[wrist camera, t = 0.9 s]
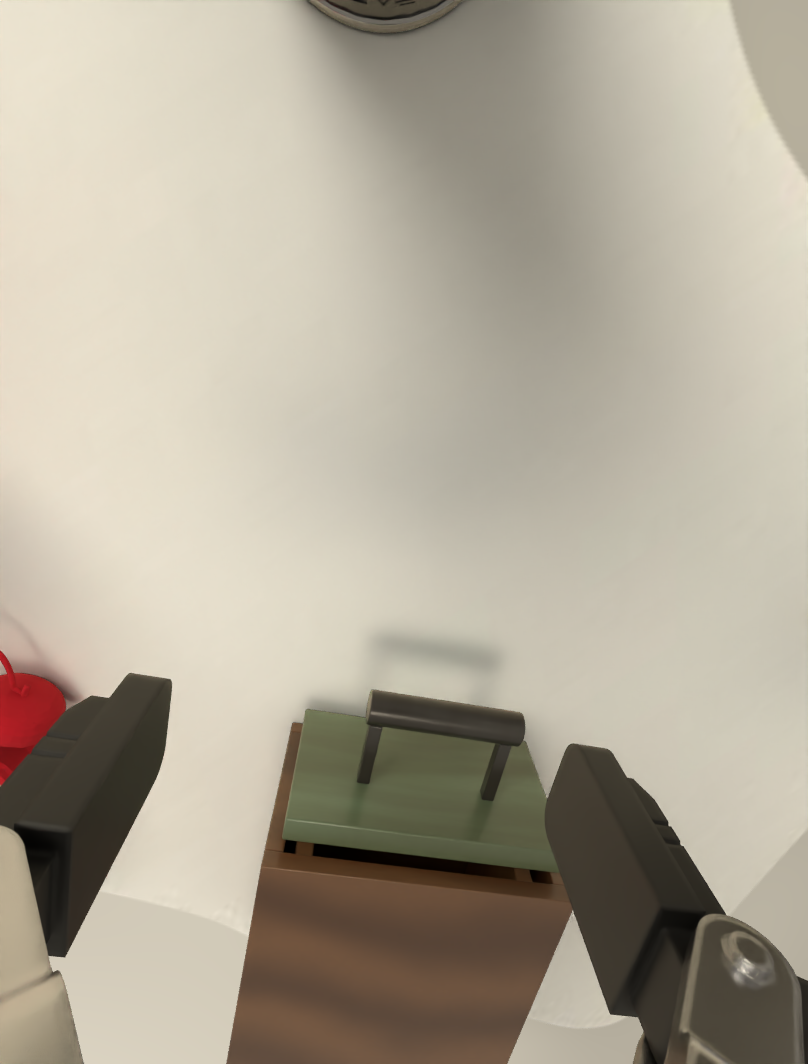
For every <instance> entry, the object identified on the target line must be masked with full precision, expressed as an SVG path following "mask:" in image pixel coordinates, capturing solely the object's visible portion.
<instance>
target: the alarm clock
mask: <svg viewBox="0 0 808 1064" xmlns="http://www.w3.org/2000/svg"><path fill="white" fill-rule="evenodd" d="M0 661H1V662H2V664H3V665H4V667H5V669H6V672H7V674H5V675H0V786H1V785H2V784H3V783H4V781H5V780H6V779H7V778H8V777H9V776H10V775H11V773H12V772H13V771H14V770H15V769H16V768H17V766H18V765H19V764H20V763H21V762H22V761H23V759H24V758H25V757H26V756H27V755H28V754H31V752H32V749H33V748H34V747H35V745H36V744H37V743H38V742H39V741H40V740H41V738H42V737H43V736H46V734H47V731H48V730H49V729H50V728H51V727H52V726H53V724H54V723H55V722H56V721H57V720H58V719H59V717H60V716H61V715H62V714H63V713H64V712H65V710H66V702H65V699H64V696H63V693H62V692H61V691H60V690H59V689H58V688H57V687H56V686H55V685H54V684H52V683H51V682H49V681H47V680H45V679H43V678H41V677H38V676H35V675H30V674H24V673H14V672H13V669H12V667H11V665H10V663H9V661H8V659H7V658H6V656H5V655H4V654H3V653H2V652H1V651H0Z"/></svg>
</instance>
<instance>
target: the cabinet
mask: <svg viewBox="0 0 808 1064" xmlns="http://www.w3.org/2000/svg"><path fill="white" fill-rule="evenodd" d="M302 727H303V724H301V723H292V727H291V731H290V736H289V741H288V745H287V750H286V754H285V759H284V764H283V768H282V773H281V777H280V782H279V787H278V791H277V796H276V800H275V805H274V810H273V814H272V819H271V824H270V828H269V833H268V837H267V842H266V847H265V851H264V856H263V860H262V865H261V870H260V876H259V881H258V887H257V893H256V898H255V904H254V910H253V915H252V921H251V927H250V932H249V938H248V944H247V949H246V955H245V961H244V966H243V972H242V978H241V984H240V989H239V995H238V1001H237V1006H236V1012H235V1018H234V1023H233V1029H232V1035H231V1040H230V1046H229V1051H228V1058H227V1063H226V1064H507V1063H508V1061H509V1058H510V1056H511V1053H512V1051H513V1049H514V1046H515V1044H516V1042H517V1039H518V1037H519V1035H520V1032H521V1030H522V1028H523V1025H524V1023H525V1020H526V1018H527V1016H528V1014H529V1011H530V1009H531V1006H532V1004H533V1002H534V999H535V997H536V995H537V992H538V990H539V988H540V985H541V983H542V981H543V978H544V976H545V974H546V971H547V969H548V967H549V964H550V962H551V960H552V957H553V955H554V952H555V950H556V948H557V945H558V943H559V941H560V938H561V936H562V934H563V931H564V929H565V927H566V924H567V922H568V920H569V917H570V915H571V913H572V910H573V908H572V906H571V903H570V900H569V897H568V894H567V891H566V889H565V886H564V883H563V880H562V877H561V875H560V872H559V873H554V872H546V871H538V870H530V869H529V871H530V875H531V878H532V882H527V881H519V880H511V879H502V878H494V877H485V876H477V875H469V874H460V873H452V872H443V871H435V870H426V869H418V868H410V867H401V866H393V865H384V864H376V863H368V862H359V861H351V860H342V859H334V858H326V857H317V856H309V855H300V854H292V853H291V851H292V846H293V841H291V840H283V839H282V833H283V828H284V823H285V817H286V812H287V807H288V801H289V796H290V791H291V785H292V780H293V775H294V769H295V764H296V759H297V754H298V748H299V743H300V738H301V732H302Z"/></svg>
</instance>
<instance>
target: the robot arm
mask: <svg viewBox="0 0 808 1064" xmlns="http://www.w3.org/2000/svg"><path fill="white" fill-rule="evenodd" d="M308 1H309V2H310V3H312V4H313V5H314V6H315V7H317V8H318V9H319V10H321V11H322V12H323V13H325V14H327V15H328V16H330V17H331V18H333V19H335V20H337V21H339V22H341V23H343V24H345V25H348V26H351V27H354V28H357V29H360V30H365V31H369V32H379V33H395V32H402V31H408V30H412V29H415V28H419V27H421V26H424V25H426V24H429V23H431V22H433V21H435V20H436V19H438V18H440V17H442V16H443V15H445V14H446V13H448V12H449V11H451V10H452V9H453V8H454V7H455V6H457V5H458V4H459V3H460V2H461V1H462V0H308ZM171 692H172V682H171V680H170V679H166V678H159V677H153V676H147V675H140V674H134V673H129V674H128V675H127V676H126V677H125V678H124V680H123V681H122V682H121V684H120V685H119V686H118V687H117V689H116V690H115V691H114V693H113V694H112V695H111V697H110V698H104V697H98V696H90V697H88V698H87V699H85V700H83V701H82V702H80V703H78V704H76V705H75V706H73V707H71V708H70V709H68V710H66V711H65V712H64V713H63V714H62V715H61V716H60V717H59V719H58V720H57V721H56V722H55V723H54V724H53V726H52V727H51V728H50V729H49V730H48V731H47V734H46V736H43V737H42V738H41V740H40V741H39V742H38V743H37V744H36V745H35V747H34V748H33V749H32V752H31V754H28V755H27V756H26V757H25V758H24V759H23V761H22V762H21V763H20V764H19V765H18V766H17V768H16V769H15V770H14V771H13V772H12V773H11V775H10V776H9V777H8V778H7V779H6V780H5V781H4V783H3V784H2V785H1V786H0V1064H84V1063H83V1059H82V1054H81V1050H80V1045H79V1041H78V1037H77V1032H76V1028H75V1024H74V1019H73V1015H72V1011H71V1007H70V1002H69V998H68V994H67V990H66V986H65V983H64V980H63V978H62V975H61V973H60V972H59V971H58V970H57V971H55V972H53V971H52V968H51V966H50V961H49V957H48V956H56V957H65V956H66V954H67V952H68V951H69V948H70V947H71V945H72V943H73V941H74V939H75V937H76V935H77V933H78V931H79V929H80V927H81V925H82V923H83V921H84V919H85V917H86V915H87V913H88V911H89V909H90V907H91V905H92V903H93V901H94V900H95V898H96V895H97V894H98V892H99V890H100V888H101V886H102V884H103V882H104V880H105V878H106V876H107V874H108V872H109V870H110V868H111V866H112V864H113V862H114V860H115V858H116V856H117V855H118V853H119V851H120V849H121V847H122V845H123V843H124V841H125V839H126V837H127V835H128V833H129V831H130V829H131V827H132V825H133V823H134V821H135V819H136V817H137V815H138V813H139V811H140V809H141V807H142V806H143V804H144V802H145V800H146V798H147V796H148V794H149V792H150V790H151V788H152V786H153V784H154V782H155V780H156V777H157V775H158V772H159V770H160V767H161V763H162V760H163V756H164V751H165V746H166V737H167V728H168V719H169V710H170V701H171ZM545 830H546V835H547V838H548V841H549V844H550V846H551V849H552V852H553V855H554V858H555V861H556V863H557V866H558V869H559V872H560V875H561V877H562V880H563V883H564V886H565V889H566V891H567V894H568V897H569V900H570V903H571V906H572V908H573V911H574V914H575V917H576V920H577V922H578V925H579V928H580V931H581V934H582V936H583V939H584V942H585V945H586V948H587V951H588V953H589V956H590V959H591V962H592V965H593V967H594V970H595V973H596V976H597V979H598V981H599V984H600V987H601V990H602V993H603V996H604V998H605V1001H606V1004H607V1007H608V1010H609V1012H610V1014H611V1015H622V1016H632V1017H638V1018H639V1020H640V1023H641V1026H642V1028H643V1030H644V1032H643V1034H642V1036H641V1038H640V1040H639V1042H638V1045H637V1048H636V1052H635V1057H634V1061H633V1064H808V981H807V980H804V979H802V978H800V977H798V976H796V974H795V972H794V970H793V969H792V967H791V966H790V964H789V962H788V961H787V960H786V958H785V957H784V956H783V955H782V953H781V952H780V951H779V950H778V949H777V948H776V947H775V946H774V945H773V944H772V943H771V942H770V941H769V940H768V939H767V938H766V937H764V936H763V935H762V934H760V933H759V932H758V931H756V930H755V929H753V928H752V927H751V926H749V925H747V924H746V923H744V922H742V921H740V920H738V919H735V918H733V917H730V916H727V915H726V914H725V912H724V910H723V909H722V907H721V906H720V904H719V902H718V901H717V899H716V898H715V896H714V894H713V893H712V891H711V890H710V888H709V886H708V885H707V883H706V882H705V880H704V878H703V877H702V875H701V874H700V872H699V870H698V869H697V867H696V866H695V864H694V862H693V861H692V859H691V858H690V856H689V854H688V853H687V851H686V849H685V848H684V846H681V845H680V840H679V838H678V837H677V835H676V833H675V832H674V830H673V829H672V827H670V826H668V821H667V819H666V817H665V816H664V814H663V813H662V811H661V809H660V808H659V806H658V805H657V803H656V801H655V800H654V799H653V798H652V797H651V796H650V795H649V794H648V793H647V792H646V791H645V790H644V789H643V788H642V787H641V786H640V785H639V784H638V783H637V782H636V781H635V780H634V779H632V778H627V777H626V775H625V773H624V772H623V770H622V768H621V767H620V765H619V763H618V762H617V760H616V758H615V757H614V755H613V753H612V752H611V751H610V750H608V749H605V748H599V747H592V746H586V745H580V744H570V745H569V746H568V747H567V749H566V751H565V753H564V756H563V758H562V761H561V764H560V766H559V769H558V772H557V775H556V777H555V780H554V783H553V786H552V788H551V791H550V794H549V797H548V799H547V802H546V807H545Z"/></svg>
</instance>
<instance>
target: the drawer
mask: <svg viewBox="0 0 808 1064" xmlns="http://www.w3.org/2000/svg"><path fill="white" fill-rule="evenodd" d="M524 734H525V720H524V716H523V714H522V713H520V712H515V711H508V710H502V709H495V708H489V707H483V706H476V705H470V704H463V703H457V702H450V701H444V700H437V699H431V698H424V697H418V696H411V695H405V694H398V693H392V692H386V691H379V690H371V692H370V695H369V699H368V705H367V711H366V718H364V717H358V716H351V715H344V714H337V713H331V712H324V711H317V710H310V709H306V711H305V716H304V722H303V727H302V732H301V738H300V743H299V748H298V754H297V759H296V764H295V769H294V775H293V780H292V785H291V791H290V796H289V801H288V807H287V812H286V817H285V823H284V828H283V833H282V839H283V840H291V841H293V846H292V851H291V853H292V854H300V855H309V856H317V857H326V858H334V859H342V860H351V861H359V862H368V863H376V864H384V865H393V866H401V867H410V868H418V869H426V870H435V871H443V872H452V873H460V874H469V875H477V876H485V877H494V878H502V879H511V880H519V881H527V882H532V878H531V875H530V871H529V869H530V870H538V871H546V872H554V873H559V869H558V866H557V863H556V861H555V858H554V855H553V852H552V849H551V846H550V844H549V841H548V838H547V835H546V830H545V807H546V802H547V798H546V795H545V793H544V790H543V787H542V785H541V782H540V779H539V776H538V774H537V771H536V768H535V766H534V763H533V760H532V757H531V755H530V752H529V749H528V747H527V744H526V742H525V741H523V739H524Z"/></svg>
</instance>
